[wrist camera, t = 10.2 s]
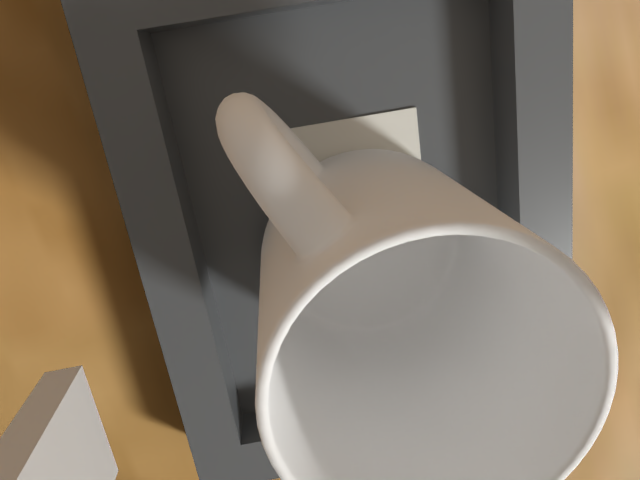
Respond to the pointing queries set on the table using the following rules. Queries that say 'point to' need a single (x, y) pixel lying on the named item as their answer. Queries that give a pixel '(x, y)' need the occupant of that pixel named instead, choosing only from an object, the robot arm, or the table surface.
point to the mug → (411, 321)
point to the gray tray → (318, 136)
